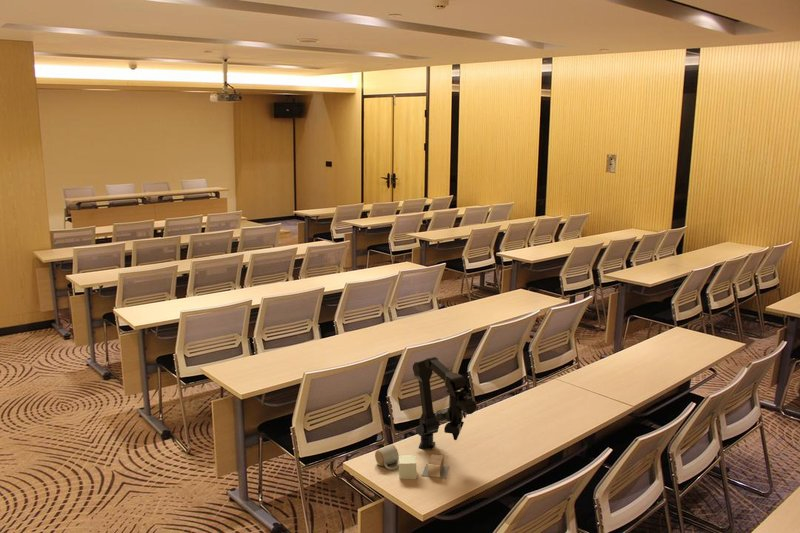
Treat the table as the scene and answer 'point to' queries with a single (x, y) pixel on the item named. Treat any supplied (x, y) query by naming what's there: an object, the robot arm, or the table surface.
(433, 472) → the walnut block
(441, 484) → the table surface
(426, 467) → the felt pad
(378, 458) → the ceramic mug
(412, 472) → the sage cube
